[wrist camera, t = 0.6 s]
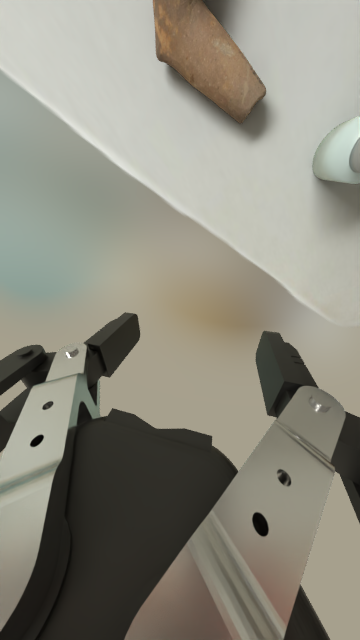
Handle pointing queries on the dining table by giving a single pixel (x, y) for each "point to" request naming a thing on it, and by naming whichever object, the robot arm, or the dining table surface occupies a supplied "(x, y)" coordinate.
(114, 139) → the dining table surface
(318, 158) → the domed pale cylinder
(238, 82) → the pipe
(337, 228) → the dining table surface
